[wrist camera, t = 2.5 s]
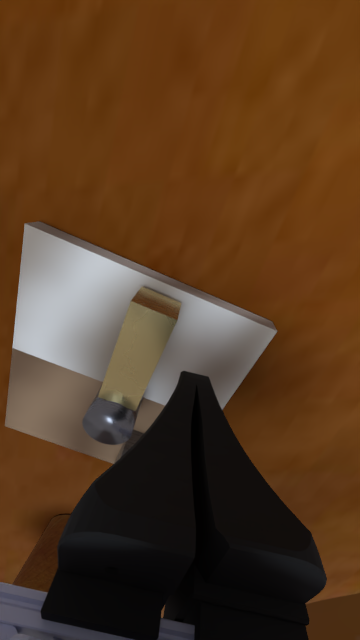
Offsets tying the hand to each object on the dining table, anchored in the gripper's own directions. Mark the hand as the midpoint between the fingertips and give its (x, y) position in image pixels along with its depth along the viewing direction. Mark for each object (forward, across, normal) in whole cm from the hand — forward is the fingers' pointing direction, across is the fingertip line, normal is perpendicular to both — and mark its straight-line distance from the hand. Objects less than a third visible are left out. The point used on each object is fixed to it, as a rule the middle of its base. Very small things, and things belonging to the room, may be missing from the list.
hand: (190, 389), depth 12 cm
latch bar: (+3, +3, +1) cm, 4 cm away
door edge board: (+4, +4, +4) cm, 7 cm away
